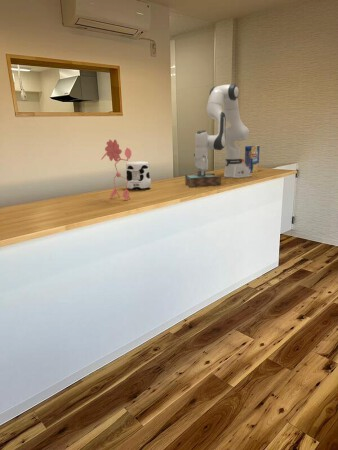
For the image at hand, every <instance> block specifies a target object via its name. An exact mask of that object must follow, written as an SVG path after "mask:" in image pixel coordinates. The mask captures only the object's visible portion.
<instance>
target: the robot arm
mask: <svg viewBox="0 0 338 450" xmlns="http://www.w3.org/2000/svg"><path fill="white" fill-rule="evenodd" d="M239 95H240V89H239V87H238V85H237V84H233V83H231V84H221V85H218V86H217V85H216V86H213V87H212V88H210V91H209V97H208V99H207V100H208V101H207V105H206V113H207V116H208V117H210V118H211V119H212V120H214V121H217V134H215V135H211V134H208V131H207V130H203V129H202V130H198V131H196V133H195V136H194V145H195V149H194V153H193V158H194V160H193V161H194V166H195V168H197V169H198V170H197V171H201V175H204V171H207V170H209V159H208V157H209V152H208V151H209V150H216V151H222V150H223V149H224V148H225V162H224V164H225V165H224V166H225V169H224V173H223V177H225V178H235V179H239V178H248V177H252V176H253V174H252V173H249V169H248V168H247V167H246V166H245V158H243V159H242V158H241V148H240V146H238V145H237V143H236V142H242V141H247V140H248V139H249V137H250V130H249V128H248V127H247V126H246V125H245V124H244V123H243V122H242V119H241V114H240V107H239V100H238V97H239ZM226 122H227V123H229V125H230V126H226V125H227V123H226Z"/></svg>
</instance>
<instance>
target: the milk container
mask: <svg viewBox="0 0 338 450" xmlns="http://www.w3.org/2000/svg"><path fill="white" fill-rule="evenodd" d="M125 165H126V166H125V168H126V169H125V170H126V171H125V172H126V179H128V182H127V180H126V179H125V185H127V190H131V191H141V190H148V189H150V188H151V186H152V179H151V175H150V164H149V161H145V160H144V161H138V160H137V161H127V162H126V164H125Z"/></svg>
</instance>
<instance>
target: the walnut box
mask: <svg viewBox="0 0 338 450" xmlns="http://www.w3.org/2000/svg"><path fill="white" fill-rule="evenodd" d="M206 174H207V173H205V175H206ZM210 174H211V175H214V177H198V178H190V179H189V178H187V176H189V175H190V174H185V175H184V178H185V180H184V181H185V182H184V183H185V185H186V186H188V187H189V188H203V187H204V188H205V187H206V188H207V187H219V186H220V187H221V186H222V176H221V175H215V172H214V173H210ZM195 175H197V174H195Z"/></svg>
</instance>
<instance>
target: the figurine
mask: <svg viewBox="0 0 338 450" xmlns="http://www.w3.org/2000/svg"><path fill="white" fill-rule="evenodd" d="M104 150H105V153H104V155H102V157H101V159H100V160H103V159H104V158H105V157H106V156H107V157H108V158H109V161H111V162H112V161H113V160H114V162H115V163H114V167H115V170H116V173H115V176H114V177H113V182H114V183H113V184H114V186H116V181H115V178H123V179H124V180H125V181H126V180H127V182H128V179H126V178H125V177H123V176H122V175H121V173H120V172H119V171H118V168H117V164H118V163H119V162H120V161H126V162H129V160H130V158H131V157H132V150H131V149H130V148H128V147H126V149H125V150H124V155H125V157H126V159H125V158H121V156H120V155H121V154H122V152H123V151H122V149H120V145H119V143H118V141H117V139H114V140H111V139H108V141H107V142H106V147H105V148H104ZM125 185H126V184H125ZM116 194H117V197H118V198H121V196H120V194H119V193H118V188H117V187H114V189H112V192H111V193H110V199H112V198H113V197H115V195H116ZM122 197H123V199H124V201H127V200H128V199H129V200H131V197H130V191H129V189H128V188H127V185H126V187H125V189H124V191H123V193H122ZM105 203H106V204H108V202H107V201H105ZM114 204H118V205H119V202H116V203H115V202H114Z"/></svg>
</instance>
